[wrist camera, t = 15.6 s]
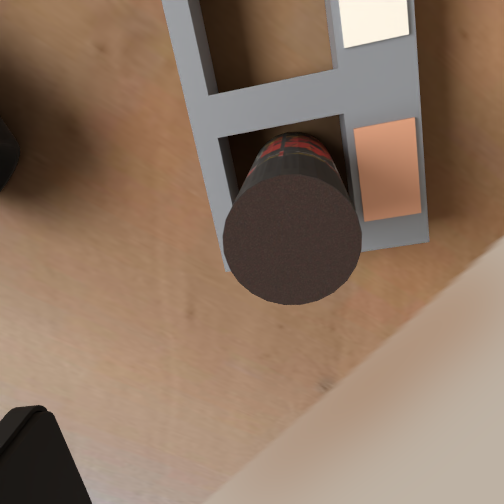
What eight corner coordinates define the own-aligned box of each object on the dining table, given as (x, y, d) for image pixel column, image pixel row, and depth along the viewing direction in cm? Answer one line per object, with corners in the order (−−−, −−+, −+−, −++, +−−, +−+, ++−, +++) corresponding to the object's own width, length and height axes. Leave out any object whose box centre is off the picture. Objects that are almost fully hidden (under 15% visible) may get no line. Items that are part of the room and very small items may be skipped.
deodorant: (350, 178, 33) (390, 252, 19) (287, 227, 35) (281, 328, 21) (299, 114, 31) (302, 142, 18) (236, 168, 33) (194, 233, 19)
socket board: (389, -112, 26) (406, -146, 22) (414, 223, 34) (430, 243, 30) (164, -52, 29) (143, -73, 25) (233, 251, 36) (225, 273, 32)
